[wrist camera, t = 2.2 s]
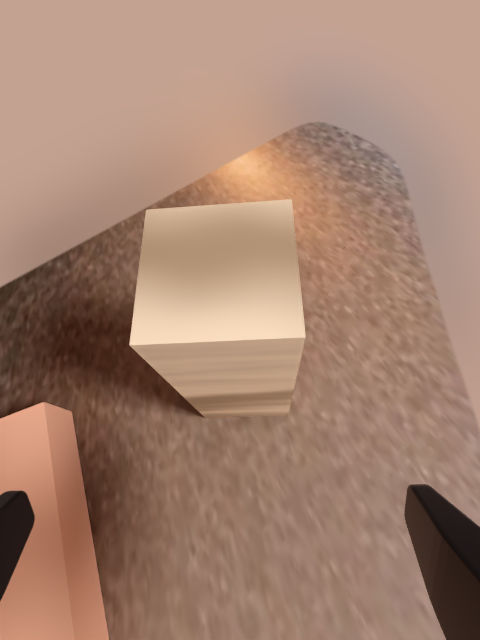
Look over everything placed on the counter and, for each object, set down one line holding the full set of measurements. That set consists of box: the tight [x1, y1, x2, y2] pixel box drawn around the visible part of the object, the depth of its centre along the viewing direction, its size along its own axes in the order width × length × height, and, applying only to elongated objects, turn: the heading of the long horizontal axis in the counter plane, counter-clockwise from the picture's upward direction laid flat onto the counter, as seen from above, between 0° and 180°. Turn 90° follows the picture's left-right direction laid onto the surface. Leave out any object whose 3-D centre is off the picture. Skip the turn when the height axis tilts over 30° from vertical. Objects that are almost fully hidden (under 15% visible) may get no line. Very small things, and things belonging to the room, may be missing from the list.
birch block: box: [129, 199, 306, 418], centre depth 17 cm, size 5×5×12 cm
